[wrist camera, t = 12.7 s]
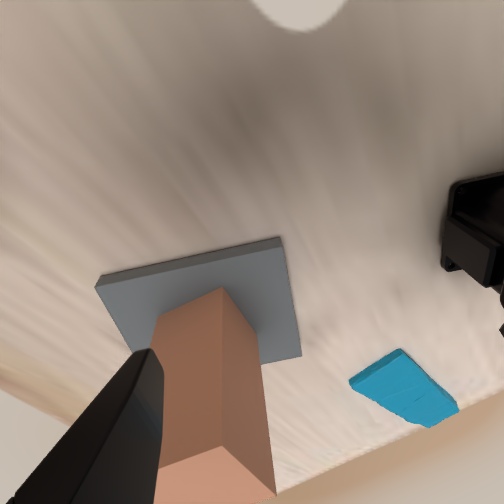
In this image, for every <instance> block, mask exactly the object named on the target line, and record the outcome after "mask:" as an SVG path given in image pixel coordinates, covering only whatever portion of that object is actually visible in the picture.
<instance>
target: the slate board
mask: <svg viewBox="0 0 504 504" xmlns="http://www.w3.org/2000/svg"><path fill="white" fill-rule="evenodd" d="M220 287H223V288H224V289H225V291H226V292H227V294H228V295H229V296H230V298H231V299H232V301H233V302H234V303H235V305H236V306H237V308H238V309H239V311H240V312H241V313H242V315H243V316H244V318H245V319H246V320H247V322H248V323H249V325H250V326H251V327H252V329H253V330H254V332H255V333H256V334H257V340H258V348H259V357H260V365H262V364H267V363H272V362H277V361H282V360H286V359H291V358H296V357H301V356H302V351H301V346H300V340H299V334H298V329H297V323H296V318H295V312H294V306H293V301H292V295H291V290H290V284H289V278H288V273H287V267H286V262H285V256H284V251H283V246H282V243H281V240H280V237H279V238H274V239H270V240H265V241H260V242H256V243H251V244H247V245H242V246H237V247H233V248H228V249H224V250H219V251H215V252H210V253H205V254H201V255H196V256H192V257H187V258H182V259H178V260H173V261H169V262H164V263H159V264H155V265H150V266H146V267H141V268H137V269H132V270H127V271H123V272H118V273H114V274H109V275H104V276H100V278H99V280H98V282H97V283H96V285H95V287H94V288H95V290H96V291H97V293H98V295H99V297H100V298H101V300H102V302H103V303H104V305H105V307H106V309H107V310H108V312H109V314H110V315H111V317H112V319H113V321H114V322H115V324H116V326H117V327H118V329H119V331H120V333H121V334H122V336H123V338H124V340H125V341H126V343H127V345H128V346H129V348H130V350H131V352H132V353H134V352H135V351H137V350H141V349H145V348H150V344H151V340H152V336H153V333H154V329H155V325H156V321H157V317H158V316H160V315H163V314H165V313H167V312H169V311H171V310H173V309H175V308H178V307H180V306H182V305H184V304H186V303H188V302H190V301H193V300H195V299H197V298H199V297H201V296H203V295H205V294H208V293H210V292H212V291H214V290H216V289H218V288H220Z"/></svg>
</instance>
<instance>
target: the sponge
mask: <svg viewBox="0 0 504 504" xmlns="http://www.w3.org/2000/svg"><path fill="white" fill-rule="evenodd" d="M349 384H350V386H351V387H352V389H353V390H355V391H356V392H358V393H361V394H363V395H365V396H366V397H368V398H369V399H372V400H373V401H376V402H377V403H378V404H379V405H380V406H382V407H384V408H386V409H387V410H389V411H391V412H393V413H395V414H396V415H399V416H400V417H402V418H404V419H405V420H406V421H407V422H410V423H414V424H421V425H423V426H425V427H427V428H430V427H431V426H434V425H436V424H438V423H439V422H441V421H442V420H444V419H445V418H448V417H450V416H451V415H454V414H456V413H458V412H459V408H458V407H457V402H456V401H455V400H454V399H453V397H452V396H451V395H450V394H449V393H448V392H447V391H445V390H444V389H443V388H442V387H441V386H439V385H438V384H437V383H436V382H435V381H434V380H433V379H431V378H430V377H429V376H428V375H427V374H426V373H425V372H424V371H423V370H422V369H421V368H420V366H418V365H417V364H416V363H415V362H414V361H413V360H412V359H411V358H410V357H408V356H407V355H406V354H405V353H404V352H403V351H402V350H401V349H397V350H395V351H393V352H392V353H390V354H388V355H387V356H385V357H383V358H382V359H380V360H379V361H377V362H375V363H374V364H372V365H371V366H369V367H367V368H366V369H364V370H363V371H361V372H360V373H358V374H357V375H355V376H354V377H352V378H351V379H349Z"/></svg>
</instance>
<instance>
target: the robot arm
mask: <svg viewBox="0 0 504 504" xmlns="http://www.w3.org/2000/svg"><path fill="white" fill-rule="evenodd" d="M461 188H463V189H462V191H461V192H459V190H460V189H461ZM458 192H459V193H458ZM442 252H443V253H442V261H441V266H442V268H443V269H444V270H446V271H447V272H452V271H456V270H461V269H463V270H464V271H465V272H467V273H468V274H469V275H470V276H471V277H472V278H474V279H475V280H476V281H477V282H478V283H479V284H481V285H482V286H483V287H485V288H488V287H492V288H493V289H494V290H495V291H496V292H498V293H499V294H500V302H501V305H502V307H503V308H504V172H499V173H495V174H490V175H486V176H481V177H477V178H472V179H468V180H463V181H459V182H456V183H455V184H454V185H453V186H452V188H451V190H450V198H449V205H448V213H447V219H446V221H445V229H444V237H443V245H442ZM450 263H451V264H450ZM449 264H450V265H449ZM499 331H500V332H501V334H502V335H503V337H504V324H503V325H502V326H501V328H500V329H499ZM163 410H164V370H163V367H162V365H161V363H160V362H159V360H158V358H157V356H156V354H155V352H154V351H153V349H151V348H145V349H141V350H137V351H135V352H134V353H133V354H132V355H131V356H130V357H129V358H128V359H127V361H126V362H125V363H124V364H123V365H122V367H121V368H120V369H119V370H118V371H117V372H116V374H115V375H114V376H113V377H112V378H111V380H110V381H109V382H108V383H107V384H106V386H105V387H104V388H103V389H102V390H101V391H100V393H99V394H98V395H97V396H96V397H95V399H94V400H93V401H92V402H91V403H90V405H89V406H88V407H87V408H86V409H85V410H84V412H83V413H82V414H81V415H80V416H79V418H78V419H77V420H76V421H75V422H74V423H73V425H72V426H71V427H70V428H69V430H68V431H67V432H66V433H65V434H64V435H63V437H62V438H61V439H60V440H59V441H58V442H57V444H56V445H55V446H54V447H53V449H52V450H51V451H50V452H49V453H48V454H47V456H46V457H45V458H44V459H43V460H42V461H41V463H40V464H39V465H38V466H37V467H36V469H35V470H34V471H33V472H32V473H31V475H30V476H29V477H28V478H27V479H26V481H25V482H24V483H23V484H22V485H21V487H20V488H19V489H18V490H17V491H16V493H15V496H14V497H11V498H10V499H9V500H8V502H7V503H6V504H154V496H155V489H156V482H157V475H158V467H159V460H160V453H161V445H162V435H163Z"/></svg>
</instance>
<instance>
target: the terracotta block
mask: <svg viewBox="0 0 504 504" xmlns="http://www.w3.org/2000/svg"><path fill="white" fill-rule="evenodd" d="M150 348H151V349H153V351H154V352H155V354H156V356H157V358H158V360H159V362H160V363H161V365H162V367H163V370H164V410H163V435H162V445H161V453H160V460H159V467H158V475H157V482H156V489H155V496H154V504H255V503H258V502H261V501H264V500H267V499H270V498H273V497H276V496H277V494H276V486H275V478H274V469H273V461H272V453H271V445H270V437H269V429H268V421H267V413H266V405H265V397H264V389H263V381H262V373H261V365H260V357H259V348H258V340H257V334H256V333H255V332H254V330H253V329H252V327H251V326H250V325H249V323H248V322H247V320H246V319H245V318H244V316H243V315H242V313H241V312H240V311H239V309H238V308H237V306H236V305H235V303H234V302H233V301H232V299H231V298H230V296H229V295H228V294H227V292H226V291H225V289H224V288H223V287H220V288H218V289H216V290H214V291H212V292H210V293H208V294H205V295H203V296H201V297H199V298H197V299H195V300H193V301H190V302H188V303H186V304H184V305H182V306H180V307H178V308H175V309H173V310H171V311H169V312H167V313H165V314H163V315H160V316H158V317H157V321H156V325H155V329H154V333H153V336H152V340H151V344H150Z"/></svg>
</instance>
